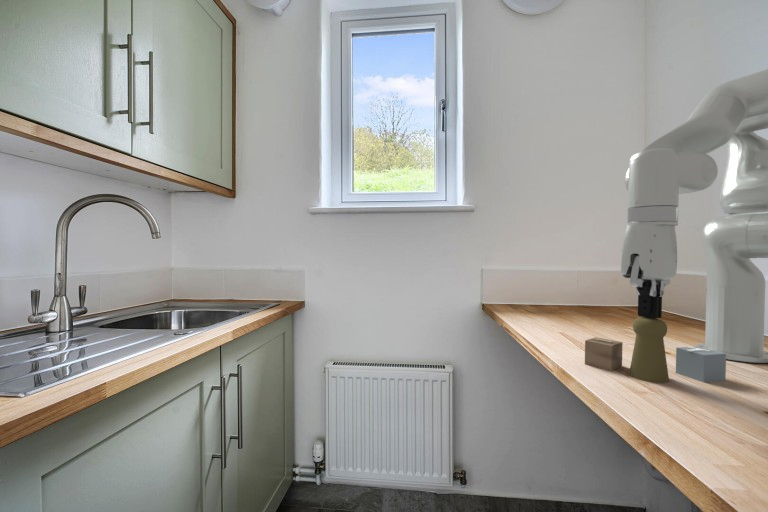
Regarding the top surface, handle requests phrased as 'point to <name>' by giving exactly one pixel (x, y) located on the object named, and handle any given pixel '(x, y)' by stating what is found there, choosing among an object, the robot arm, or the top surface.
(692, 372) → the slate numeral block
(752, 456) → the top surface
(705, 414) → the top surface
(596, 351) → the walnut numeral block
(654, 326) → the cork
